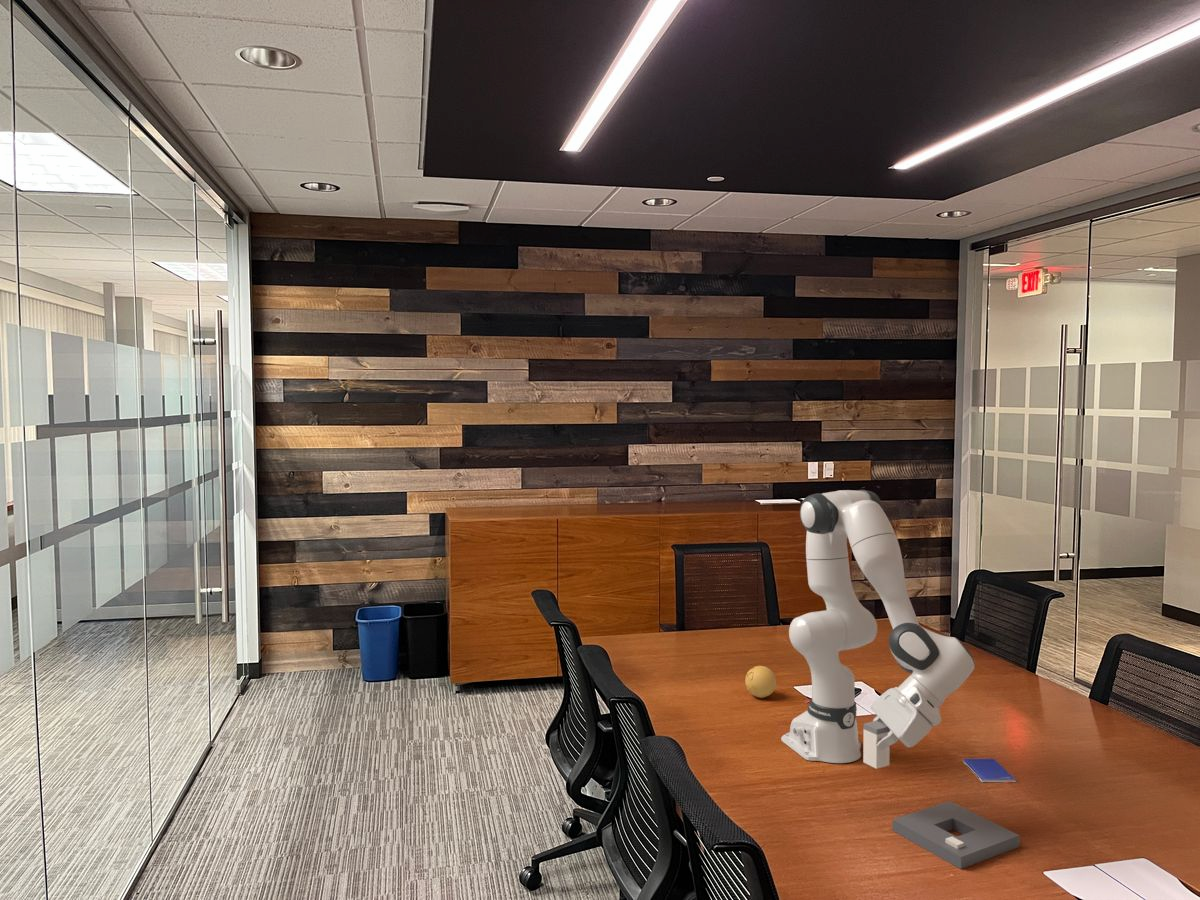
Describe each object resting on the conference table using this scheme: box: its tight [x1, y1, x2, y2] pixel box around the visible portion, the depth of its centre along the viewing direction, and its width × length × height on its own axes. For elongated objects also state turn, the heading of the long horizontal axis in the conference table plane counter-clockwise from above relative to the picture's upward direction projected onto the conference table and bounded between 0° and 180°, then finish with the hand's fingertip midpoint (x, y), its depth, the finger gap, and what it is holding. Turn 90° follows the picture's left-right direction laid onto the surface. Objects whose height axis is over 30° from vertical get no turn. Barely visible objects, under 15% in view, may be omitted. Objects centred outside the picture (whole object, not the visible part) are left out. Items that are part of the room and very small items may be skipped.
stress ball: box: [744, 665, 777, 699], centre depth 275 cm, size 10×10×10 cm
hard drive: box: [962, 758, 1017, 783], centre depth 217 cm, size 2×8×12 cm
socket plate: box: [892, 800, 1021, 870], centre depth 184 cm, size 18×18×3 cm
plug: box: [862, 720, 891, 770], centre depth 195 cm, size 4×4×9 cm
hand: (873, 741), depth 194 cm, fingers closed on plug, 5 cm apart
